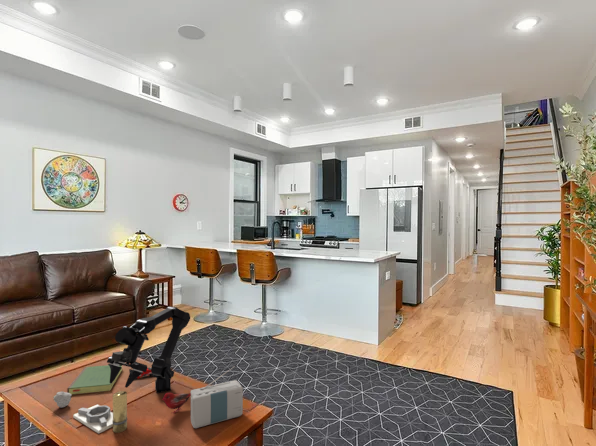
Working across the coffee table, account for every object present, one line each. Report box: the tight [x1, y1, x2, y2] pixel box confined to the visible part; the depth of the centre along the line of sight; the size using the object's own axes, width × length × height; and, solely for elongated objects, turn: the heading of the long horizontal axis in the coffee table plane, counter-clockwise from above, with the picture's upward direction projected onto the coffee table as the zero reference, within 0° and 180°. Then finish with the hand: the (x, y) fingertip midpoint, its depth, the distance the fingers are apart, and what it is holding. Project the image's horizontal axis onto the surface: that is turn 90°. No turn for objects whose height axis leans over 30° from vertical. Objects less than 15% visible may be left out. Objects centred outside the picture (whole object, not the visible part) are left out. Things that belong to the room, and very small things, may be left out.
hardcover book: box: [66, 364, 123, 395], centre depth 182 cm, size 25×19×4 cm
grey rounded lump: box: [53, 391, 73, 409], centre depth 158 cm, size 6×7×7 cm
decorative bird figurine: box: [161, 392, 191, 414], centre depth 156 cm, size 3×18×10 cm, turn 139°
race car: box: [135, 367, 153, 380], centre depth 189 cm, size 13×5×4 cm, turn 112°
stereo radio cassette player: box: [190, 365, 244, 429], centre depth 149 cm, size 21×8×20 cm, turn 119°
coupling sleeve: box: [112, 390, 128, 434], centre depth 142 cm, size 5×5×14 cm
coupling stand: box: [73, 403, 113, 434], centre depth 149 cm, size 10×20×4 cm, turn 57°
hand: (118, 385), depth 151 cm, fingers open, 9 cm apart
